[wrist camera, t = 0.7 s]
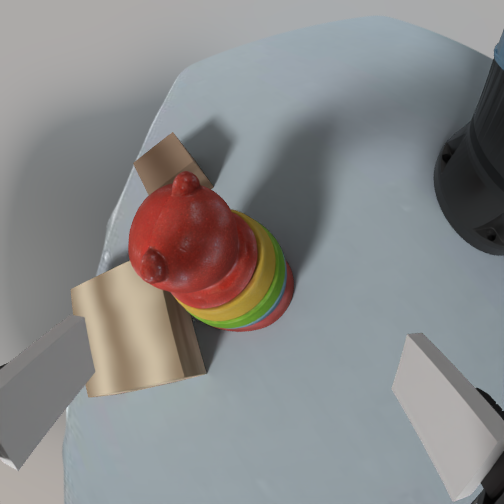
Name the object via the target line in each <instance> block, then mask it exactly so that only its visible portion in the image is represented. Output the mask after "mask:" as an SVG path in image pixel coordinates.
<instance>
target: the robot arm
mask: <svg viewBox="0 0 504 504" xmlns="http://www.w3.org/2000/svg"><path fill="white" fill-rule="evenodd" d="M434 187H435V192H436V196H437V200H438V202H439V205H440V207H441V210H442V212H443V214H444V215H445V217H446V219H447V220H448V222H449V223H450V225H451V226H452V227H453V229H454V230H455V231H456V232H457V233H458V234H459V235H460V236H461V237H462V238H463V239H464V240H465V241H466V242H468V243H469V244H470V245H472V246H473V247H475V248H477V249H478V250H480V251H483V252H485V253H488V254H492V255H504V30H503V33H502V36H501V38H500V41H499V43H498V44H497V45H496V46H495V49H494V59H493V63H492V66H491V69H490V72H489V75H488V78H487V81H486V84H485V86H484V89H483V92H482V95H481V97H480V100H479V103H478V105H477V108H476V110H475V113H474V115H473V118H472V120H471V121H470V122H469V123H468V124H467V125H465V126H464V127H463V128H462V129H461V130H459V131H458V132H457V133H456V134H454V135H453V136H452V137H451V138H450V139H449V140H448V141H447V142H446V143H445V145H444V146H443V148H442V150H441V152H440V155H439V157H438V159H437V162H436V165H435V170H434ZM94 373H95V368H94V363H93V359H92V354H91V349H90V344H89V339H88V334H87V328H86V322H85V317H81V316H75V315H69V316H68V317H67V318H66V319H64V320H63V321H62V322H60V323H59V324H57V325H56V326H55V327H54V328H52V329H51V330H50V331H48V332H47V333H46V334H44V335H43V336H42V337H41V338H39V339H38V340H37V341H35V342H34V343H33V344H31V345H30V346H29V347H28V348H26V349H25V350H24V351H23V352H21V353H20V354H19V355H18V356H17V357H15V358H14V359H13V360H12V361H10V362H9V363H7V364H4V365H2V366H0V458H1V460H2V461H3V462H4V463H5V464H7V465H9V466H10V467H12V468H14V469H16V470H17V471H19V469H20V468H21V466H22V465H23V464H24V462H25V461H26V460H27V459H28V457H29V456H30V454H31V453H32V452H33V450H34V449H35V448H36V446H37V445H38V444H39V442H40V441H41V440H42V439H43V437H44V436H45V435H46V433H47V432H48V431H49V429H50V428H51V427H52V426H53V424H54V423H55V422H56V420H57V419H58V418H59V417H60V415H61V414H62V413H63V412H64V410H65V409H66V408H67V407H68V405H69V404H70V403H71V402H72V400H73V399H74V398H75V397H76V395H77V394H78V393H79V392H80V390H81V389H82V388H83V387H84V385H85V384H86V383H87V382H88V381H89V379H90V378H91V377H92V376H93V374H94ZM392 390H393V392H394V394H395V396H396V397H397V399H398V401H399V403H400V404H401V406H402V408H403V410H404V411H405V413H406V415H407V417H408V418H409V420H410V422H411V424H412V425H413V427H414V429H415V431H416V433H417V435H418V436H419V438H420V440H421V442H422V444H423V445H424V447H425V449H426V451H427V453H428V455H429V457H430V458H431V460H432V462H433V464H434V466H435V468H436V470H437V472H438V474H439V476H440V478H441V479H442V481H443V483H444V485H445V487H446V489H447V491H448V493H449V495H450V497H451V499H452V501H453V502H454V501H457V500H459V499H462V498H464V497H467V496H469V495H471V494H472V493H473V492H474V491H475V489H476V488H477V487H478V486H479V484H480V483H481V484H482V486H483V488H484V489H483V491H482V492H481V493H480V494H479V495H478V496H477V497H476V499H475V500H474V501H473V502H472V503H471V504H476V503H477V504H504V411H502V409H501V407H500V406H499V405H498V404H496V402H495V401H494V400H493V399H492V398H491V396H490V395H489V394H487V393H486V392H484V391H482V390H481V389H479V388H475V387H474V386H473V385H472V384H471V383H470V382H469V381H468V380H467V379H466V378H465V377H464V376H463V374H462V373H461V372H460V371H459V370H458V369H457V368H456V367H455V366H454V365H453V364H452V363H451V362H450V361H449V360H448V359H447V358H446V357H445V356H444V355H443V353H442V352H441V351H440V350H439V349H438V348H437V347H436V346H435V345H434V344H433V343H432V342H431V341H430V340H429V339H428V338H427V337H426V336H425V335H424V334H423V333H415V334H407V336H406V340H405V344H404V348H403V352H402V355H401V359H400V363H399V366H398V369H397V373H396V376H395V379H394V382H393V386H392Z"/></svg>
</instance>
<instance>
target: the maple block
mask: <svg viewBox="0 0 504 504" xmlns="http://www.w3.org/2000/svg"><path fill="white" fill-rule="evenodd" d="M71 298H72V306H73V315H75V316H81V317H85V322H86V328H87V334H88V339H89V344H90V349H91V354H92V359H93V363H94V368H95V373H94V374H93V376H92V377H91V378H90V379H89V381H88V382H87V383H86V389H87V393H88V397H98V396H108V395H116V394H122V393H127V392H132V391H137V390H142V389H146V388H151V387H155V386H160V385H164V384H168V383H173V382H177V381H181V380H185V379H189V378H193V377H197V376H200V375H204V374H207V372H206V369H205V366H204V362H203V359H202V355H201V352H200V348H199V345H198V341H197V338H196V334H195V330H194V327H193V323H192V319H191V315H190V313H189V312H188V311H187V310H186V309H185V308H184V307H183V306H182V305H181V304H180V303H179V302H178V301H177V300H176V299H175V297H174V296H173V295H172V294H171V292H169V291H165V290H161V289H158V288H156V287H154V286H152V285H151V284H149V283H147V282H145V281H144V280H142V278H141V277H140V276H138V275H137V273H136V272H135V270H134V269H133V267H132V265H131V262H130V261H128V262H126V263H123V264H121V265H119V266H117V267H115V268H113V269H111V270H109V271H107V272H105V273H103V274H101V275H99V276H97V277H95V278H93V279H91V280H89V281H87V282H84V283H82V284H81V285H79V286H77V287H74V288H73V289H71Z"/></svg>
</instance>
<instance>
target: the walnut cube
mask: <svg viewBox="0 0 504 504" xmlns="http://www.w3.org/2000/svg"><path fill="white" fill-rule="evenodd" d="M134 166H135V168H136V170H137V172H138V174H139V176H140V178H141V180H142V182H143V184H144V186H145V189H146V191H147V193H148V195H150V194H151V193H153V192H154V191H155V190H157V189H159V188H161V187H163V186H165V185H168V184H173V181H174V180H175V177H176V176H177V175H178V174H179V173H181V172H183V171H189V172H192V173H193V174H194V175H196V176H197V178H198V179H199V181H200V185H201V186H204V187H207V188H209V189H212V188H213V187H214V186H213V185H212V184H211V182H210V181H209V179H208V178H207V177H206V175H205V174H204V172H203V171H202V170H201V168H200V167H199V165H198V164H197V163H196V161H195V160H194V158H193V157H192V156H191V155H190V153H189V152H188V151H187V149H186V148H185V147H184V146H183V144H182V143H181V142H180V141H179V139H178V138H177V137H176V136H175V134H174V133H173V132H172V133H171V134H170V135H168V136H167V137H166V138H164V139H163V140H162V141H161V142H159V143H158V144H157V145H155V146H154V147H153V148H152V149H150V150H149V151H148V152H147V153H145V154H144V155H143V156H142V157H140V158H139V159H138V160H137V161H135V162H134Z"/></svg>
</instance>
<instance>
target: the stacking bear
mask: <svg viewBox="0 0 504 504" xmlns="http://www.w3.org/2000/svg"><path fill="white" fill-rule="evenodd" d="M128 251H129V259H130V262H131V265H132V267H133V269H134V270H135V272H136V273H137V275H138V276H140V277H141V278H142V280H144V281H145V282H147V283H149V284H151V285H152V286H154V287H156V288H158V289H161V290H165V291H169V292H171V294H172V295H173V296H174V297H175V299H176V300H177V301H178V302H179V303H180V304H181V305H182V306H183V307H184V308H185V309H186V310H187V311H188V312H189V313H190V314H191V315H192V316H194V317H195V318H197V319H198V320H200V321H202V322H204V323H206V324H208V325H210V326H212V327H215V328H218V329H222V330H227V331H236V332H243V331H252V330H257V329H261V328H264V327H267V326H269V325H271V324H272V323H274V322H275V321H276V320H278V319H279V318H280V317H281V316H282V315H283V313H284V312H285V311H286V309H287V307H288V306H289V304H290V301H291V299H292V295H293V289H294V280H293V275H292V271H291V268H290V266H289V264H288V263H287V261H286V259H285V257H284V254H283V251H282V249H281V247H280V245H279V243H278V242H277V240H276V239H275V238H274V236H273V235H272V234H271V233H270V232H269V231H268V230H267V229H266V228H265V227H264V226H263V225H261V224H260V223H259V222H257V221H255V220H254V219H252V218H250V217H249V216H247V215H245V214H243V213H241V212H238V211H236V210H232V209H230V208H229V206H228V205H227V203H226V202H225V201H224V200H223V199H222V198H221V197H220V196H219V195H218V194H217V193H215V192H214V191H212V190H211V189H209V188H207V187H204V186H201V185H200V181H199V179H198V178H197V176H196V175H194V174H193V173H192V172H189V171H183V172H181V173H179V174H178V175H177V176H176V177H175V180H174V181H173V184H168V185H165V186H163V187H161V188H159V189H157V190H155V191H154V192H153V193H151V194H150V195H149V196H148V197H147V198H146V199H145V200H144V201H143V203H142V204H141V206H140V207H139V209H138V211H137V212H136V215H135V217H134V219H133V222H132V225H131V229H130V234H129V245H128Z"/></svg>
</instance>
